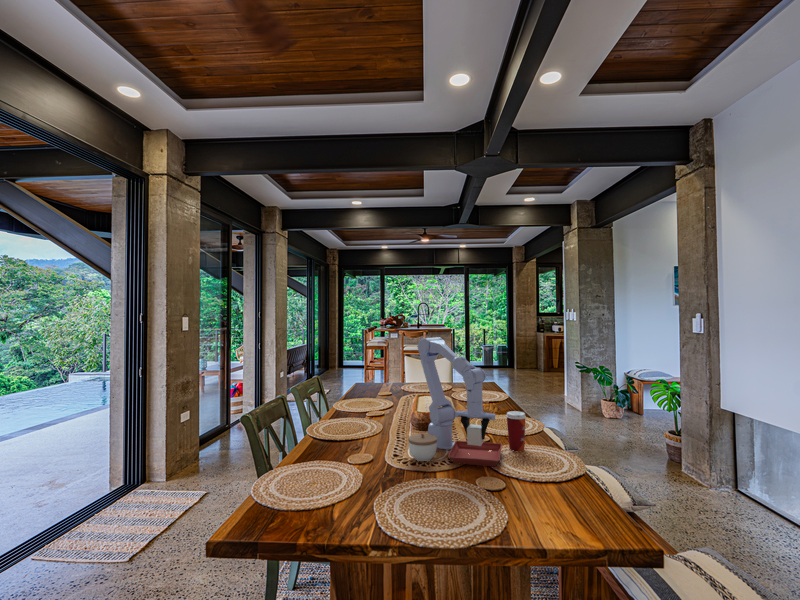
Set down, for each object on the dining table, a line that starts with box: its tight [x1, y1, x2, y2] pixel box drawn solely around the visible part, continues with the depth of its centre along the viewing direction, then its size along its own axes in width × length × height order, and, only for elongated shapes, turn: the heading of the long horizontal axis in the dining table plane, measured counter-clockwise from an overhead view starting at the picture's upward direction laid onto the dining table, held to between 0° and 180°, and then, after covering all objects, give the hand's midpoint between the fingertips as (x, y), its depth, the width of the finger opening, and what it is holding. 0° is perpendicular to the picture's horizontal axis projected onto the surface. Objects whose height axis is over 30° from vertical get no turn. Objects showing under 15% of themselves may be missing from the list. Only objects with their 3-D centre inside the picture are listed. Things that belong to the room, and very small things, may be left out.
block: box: [466, 423, 485, 446], centre depth 148 cm, size 5×5×6 cm
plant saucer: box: [447, 440, 503, 467], centre depth 148 cm, size 18×18×3 cm
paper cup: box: [505, 410, 527, 452], centre depth 156 cm, size 8×8×14 cm
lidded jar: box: [407, 432, 438, 462], centre depth 148 cm, size 11×11×9 cm
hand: (475, 437), depth 148 cm, fingers closed on block, 5 cm apart
